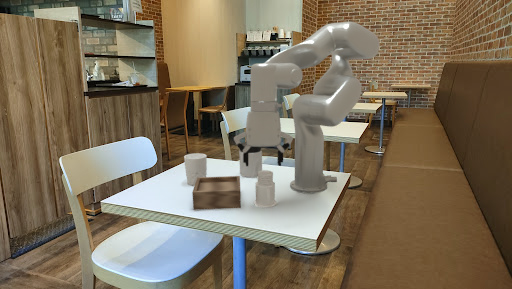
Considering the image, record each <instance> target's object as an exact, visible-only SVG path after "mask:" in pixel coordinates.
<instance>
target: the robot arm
mask: <svg viewBox="0 0 512 289" xmlns="http://www.w3.org/2000/svg"><path fill="white" fill-rule="evenodd" d="M380 47H381V44H380V41H379V38H378V36H377V35H376V34H375V32H373V31H371V30H369V29H368V28H366V27H365V26H363V25H361V24H359V23H357V22H354V21H343V22H341V21H340V22H332V23H328V24H325V25H323V26H321V27H320V28H318V30H317V31H315V32H313V34H312V35H310V36H309V37H308V38H306V39H305V40H303V41H302V42H300V43H297V44H295V45H293V46H291V47H288V48H287V49H284V50H282V51H280V52H278V53H275V54H274V55H273V56H271V57H270V58H269V59H268V60H267V59H266V61H265V62H263V63H262V62H261V63H259V62H258V63H253V64H252V65H251V67H250V111H247V116H246V122H245V123H246V124H245V125H246V126H245V127H246V128H245V131H243V132H242V133H239V134H237V135H235V136H234V137H233V141H234V142H235V145H236V146H237V148H238V149H239V150H241V151H243V163H246V166H248V150H249V148H250V147H251V146H252V147H261V148H262V147H263V148H264V147H265V148H267V147H268V148H269V147H270V148H271V147H276V148H277V149H278V150H277V161H276V162H277V163H276V164H277V165H278V167H281V166H282V163H284V153H285V152H286V150H287V149H289V147H290V145H291V144H292V142H293V140H294V180H292V181H290V183H289V184H290V185H289V186H290V189H291V190H293V191H295V192H298V193H304V194H316V193H321V192H325V191H326V190H327V189H328V183H337V182H338V177H337V176H332V175H328V174H327V175H325V174H324V152H325V151H324V148H325V147H324V146H325V145H324V144H325V143H324V141H325V137H324V135H325V134H324V132H323V129H322V126H323V127H331V128H332V127H337V126H338V125H341V123H342V122H343V121H344V120H345V119H346V117H347V116H348V115H349V114H350V112H351V111H352V110H353V109H354V108H355V106H356V105H357V104H358V102H359V100H360V97H361V94H362V84H361V82H360V80H359V79H358V78H357V77H356V76H354V75H353V74H354V72H353V69H352V66H351V65H350V61H349V60H351V61H352V60H371V59H373V58H375V57H376V56H377V55H378V53H379V51H380ZM329 56H331V66H330V67H329V68H328V69H327V71H326V72H325V73H324V74H323V75H322V76H321V77H320V78H319V79H318V80H317V81H316V83H315V85H314V87H313V89H312V93H313V94H312V93H311V94H309V93H308V94H306V93H305V94H301V95H299V96H297V97H296V98H294V101H293V102H292V106H291V112H292V118H293V124H294V138H293V136H291V135H290V134H288V133H286V132H283V131H282V127H281V118H280V112H279V111H278V109H283V108H282V107H283V103H281V102H278V89H279V90H280V89H281V90H282V89H283V90H292V89H295V88H297V87H299V85H301V83H302V80H303V71H302V70H304V69H309V68H311V67H315V66H317V65H319V64H321V62H323V61H324V60H325V59H327V57H329ZM282 137H283V138H284V139H286V141H285V142H284V143H283V144H281V143H282ZM243 138H245V142H247V143H246V145H245V146H243V145H242V144H241V143H242V142H241V139H243Z"/></svg>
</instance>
